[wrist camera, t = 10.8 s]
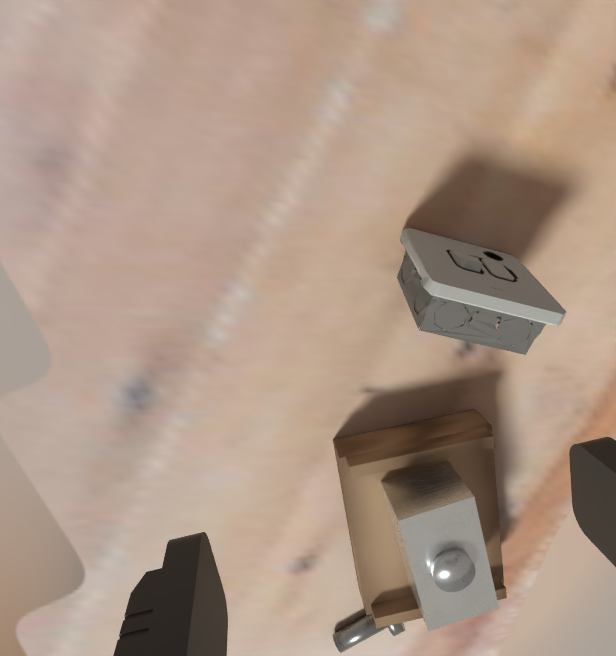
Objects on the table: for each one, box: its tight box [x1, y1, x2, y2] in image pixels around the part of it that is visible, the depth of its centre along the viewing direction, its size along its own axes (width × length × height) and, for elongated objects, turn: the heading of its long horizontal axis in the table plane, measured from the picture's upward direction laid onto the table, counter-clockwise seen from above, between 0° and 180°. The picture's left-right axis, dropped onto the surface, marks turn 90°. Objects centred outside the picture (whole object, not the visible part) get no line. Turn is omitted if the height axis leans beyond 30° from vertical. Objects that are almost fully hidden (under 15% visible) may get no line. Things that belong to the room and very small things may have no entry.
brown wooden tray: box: [333, 410, 507, 628], centre depth 43 cm, size 12×15×4 cm
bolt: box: [333, 614, 405, 653], centre depth 47 cm, size 6×3×3 cm, turn 120°
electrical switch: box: [397, 228, 566, 355], centre depth 37 cm, size 9×5×9 cm, turn 75°
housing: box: [381, 460, 499, 631], centre depth 40 cm, size 6×10×6 cm, turn 16°
